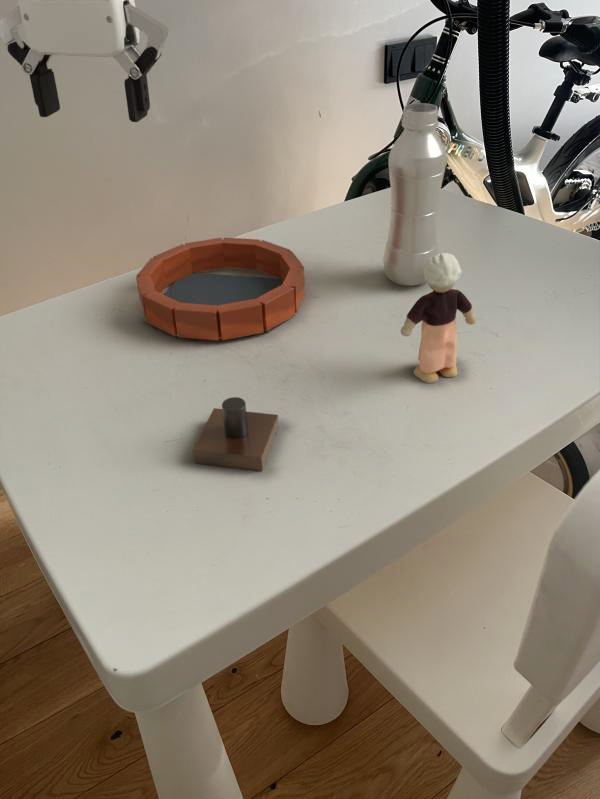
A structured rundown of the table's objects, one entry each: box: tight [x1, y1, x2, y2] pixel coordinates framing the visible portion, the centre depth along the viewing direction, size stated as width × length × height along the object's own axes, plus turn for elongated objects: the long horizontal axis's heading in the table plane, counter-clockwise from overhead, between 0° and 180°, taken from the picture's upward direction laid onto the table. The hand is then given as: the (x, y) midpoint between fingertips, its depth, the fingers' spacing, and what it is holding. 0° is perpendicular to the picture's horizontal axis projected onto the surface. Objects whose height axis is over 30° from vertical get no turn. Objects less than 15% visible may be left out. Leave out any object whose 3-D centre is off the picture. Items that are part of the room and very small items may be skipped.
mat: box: [146, 272, 283, 334], centre depth 86 cm, size 14×12×1 cm
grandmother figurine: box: [400, 252, 477, 384], centre depth 69 cm, size 8×4×13 cm, turn 121°
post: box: [192, 396, 280, 472], centre depth 63 cm, size 6×6×4 cm
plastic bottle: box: [382, 102, 448, 286], centre depth 83 cm, size 6×7×20 cm
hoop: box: [135, 237, 306, 341], centre depth 85 cm, size 19×19×3 cm
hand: (94, 116), depth 75 cm, fingers open, 9 cm apart
